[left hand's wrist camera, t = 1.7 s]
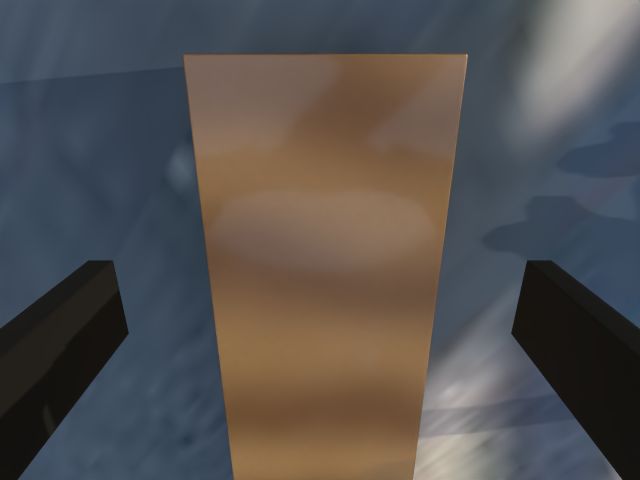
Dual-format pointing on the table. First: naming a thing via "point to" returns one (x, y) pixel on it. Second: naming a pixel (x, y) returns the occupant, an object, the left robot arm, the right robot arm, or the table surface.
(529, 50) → the table surface
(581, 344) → the left robot arm
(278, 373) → the brown wooden beam
